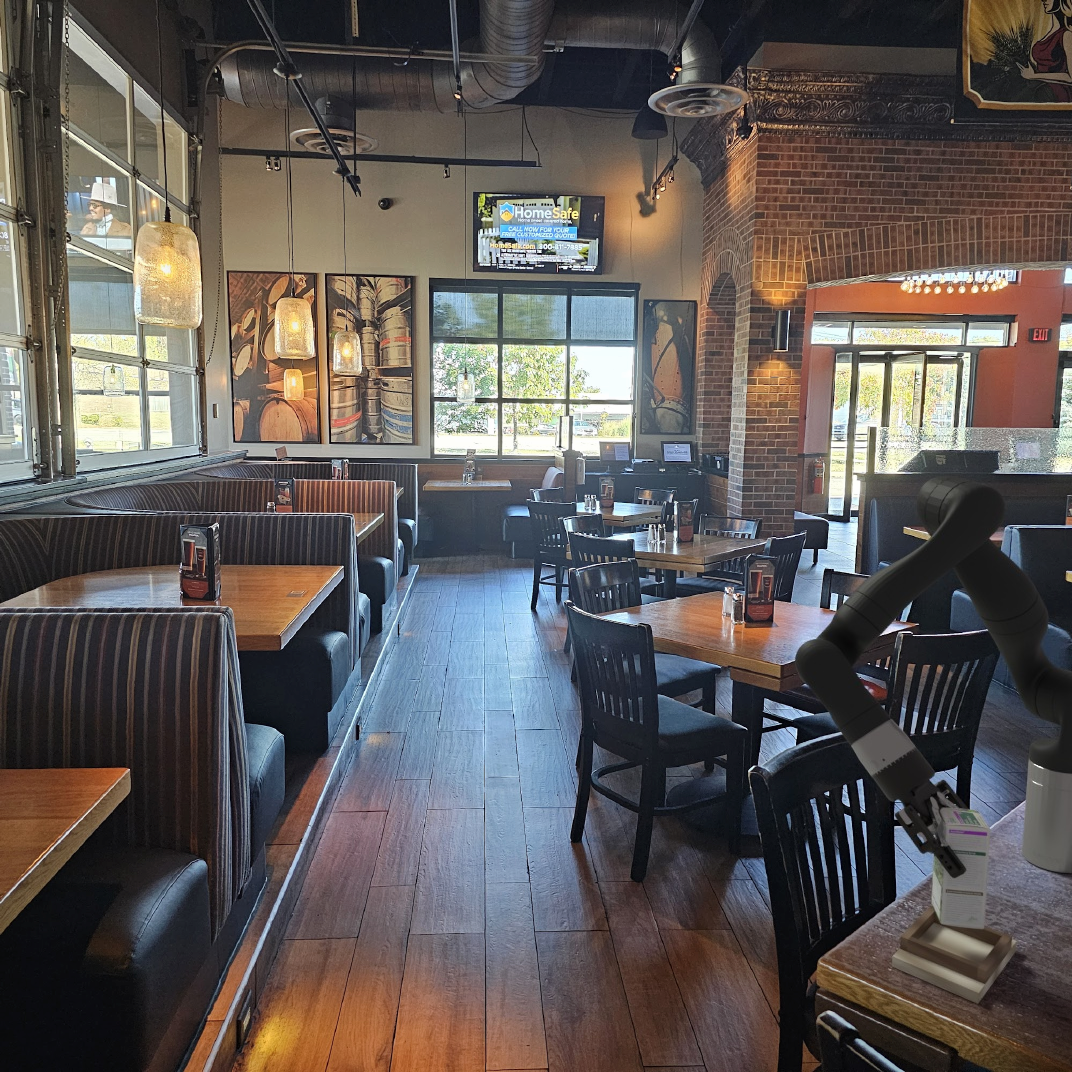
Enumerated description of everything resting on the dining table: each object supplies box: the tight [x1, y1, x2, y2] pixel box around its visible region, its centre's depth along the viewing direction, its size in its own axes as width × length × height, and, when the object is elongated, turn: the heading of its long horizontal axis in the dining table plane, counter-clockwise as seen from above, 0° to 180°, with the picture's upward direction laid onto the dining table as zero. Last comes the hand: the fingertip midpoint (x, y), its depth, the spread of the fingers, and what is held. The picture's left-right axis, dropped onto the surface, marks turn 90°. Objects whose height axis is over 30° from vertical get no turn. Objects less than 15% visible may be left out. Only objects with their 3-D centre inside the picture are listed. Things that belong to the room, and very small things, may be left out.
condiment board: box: [891, 905, 1018, 1005], centre depth 119 cm, size 16×11×3 cm
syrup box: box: [930, 807, 991, 929], centre depth 118 cm, size 6×6×14 cm
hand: (971, 864), depth 117 cm, fingers closed on syrup box, 8 cm apart
